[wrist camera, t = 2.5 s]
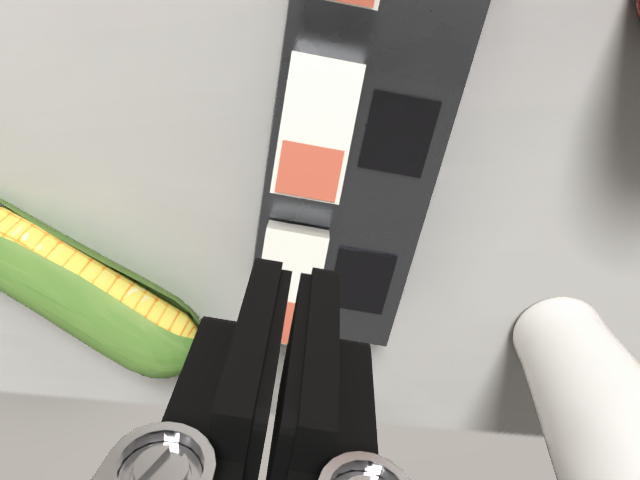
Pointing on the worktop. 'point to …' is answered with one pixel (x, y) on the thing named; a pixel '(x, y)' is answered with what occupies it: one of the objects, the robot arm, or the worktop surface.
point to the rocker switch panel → (379, 140)
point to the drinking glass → (581, 390)
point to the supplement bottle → (638, 7)
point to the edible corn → (93, 297)
